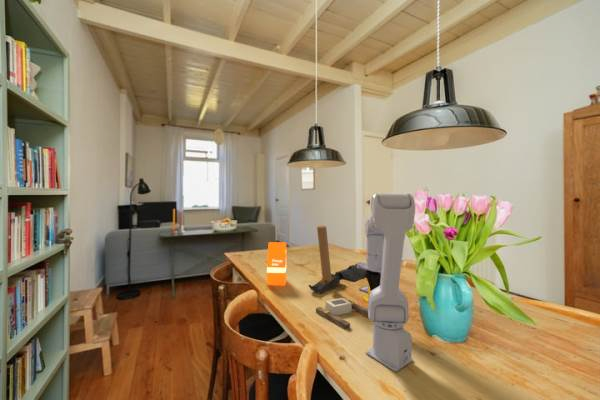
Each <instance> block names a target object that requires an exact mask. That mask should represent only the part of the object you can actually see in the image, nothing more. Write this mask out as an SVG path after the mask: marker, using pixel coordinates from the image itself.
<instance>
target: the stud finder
mask: <svg viewBox="0 0 600 400" xmlns="http://www.w3.org/2000/svg"><path fill="white" fill-rule="evenodd" d="M347 300H348V299H345V298H344V297H339V298H336V299H331V300H325V307H324V309H326V310H328V311H330V313H332V314H334V315H336V316H339V315H343V314H348V313H352V310H353V309H352V303H351V302H349V301H347Z"/></svg>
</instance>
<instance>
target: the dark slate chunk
mask: <svg viewBox="0 0 600 400" xmlns="http://www.w3.org/2000/svg"><path fill="white" fill-rule="evenodd" d="M366 271H367V270H365V269H361V268H357V263H356V264H352V265H349V266H348V267H347V268H346V269H341V270H339V271H338V272H340V273H341V274H342V275H343V279H345V280H347V281H349V282H353V283H355V282H358V281H362V280H363V279H367V278H366V276H365V275H364V273H365V272H366Z"/></svg>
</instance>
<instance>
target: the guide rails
mask: <svg viewBox="0 0 600 400" xmlns="http://www.w3.org/2000/svg"><path fill="white" fill-rule="evenodd" d="M346 300H347V301H349V302H351V303H352V310H353V311H356V312H358V313H359V314H361V315H363V316H365V317H368V308H365V307H363V306H361V305H359V304H357V303H355V302H353V301H352V300H348V299H346ZM315 313H316V314H318V315H320V316H322V317H324V319H327V320H329V321H330V322H331V323H333V324H335V325H337V326H339V327H341V328H342V329H344V330H348V329H350V328H351V322H349V321H347V320H345V319H344V318H341V317H340V316H339V315H334V314H332V313H330V311H328V310H326V309H325V308H323V307H321V306H319V307H315ZM368 318H369V317H368Z"/></svg>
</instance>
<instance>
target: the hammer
mask: <svg viewBox="0 0 600 400" xmlns="http://www.w3.org/2000/svg"><path fill="white" fill-rule="evenodd" d="M316 231H317V240H318V248H319V258H320V266H321V267H320V268H321V277H322V279H321V280H320V281H318V282H317V283H315V284H313V285H310V284H308V285H307V286H308V287H309V289H310V290H311V291H313V292H316V293H319V294H325V293H327V292H329V291H330V290H333V289H335V288H336V287H338V286H339V285H340V284H341V280H343V279H344V278H343V275H342V274H341V273H340V272H339V271H335V273H331V271H332V270H331V261H330V252H329V243H328V241H329V239H328V232H327V226H326V225H318V226H316Z"/></svg>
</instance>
